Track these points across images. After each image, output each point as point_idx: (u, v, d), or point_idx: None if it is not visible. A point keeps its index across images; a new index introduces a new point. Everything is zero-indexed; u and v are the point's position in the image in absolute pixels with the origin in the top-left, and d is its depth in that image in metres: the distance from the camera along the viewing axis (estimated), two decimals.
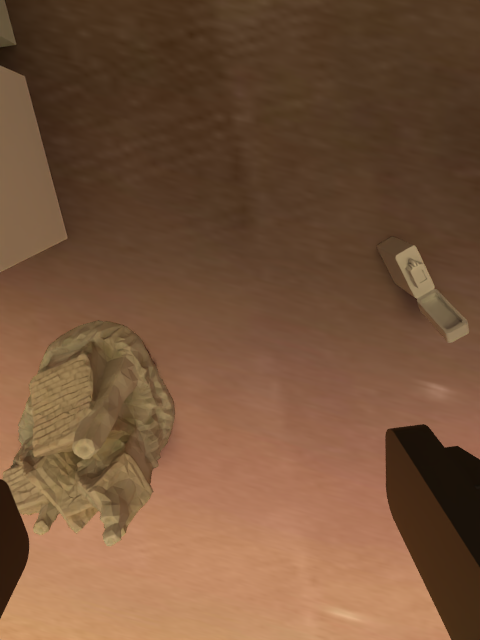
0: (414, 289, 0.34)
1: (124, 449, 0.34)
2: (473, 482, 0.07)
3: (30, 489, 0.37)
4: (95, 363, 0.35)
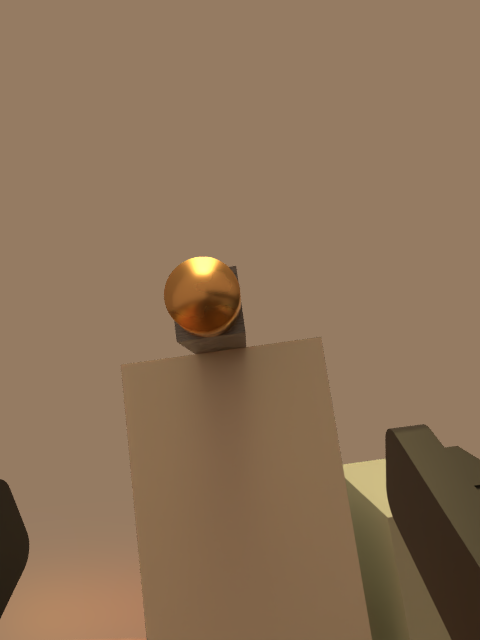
0: None
1: None
2: (473, 482, 0.07)
3: None
4: None
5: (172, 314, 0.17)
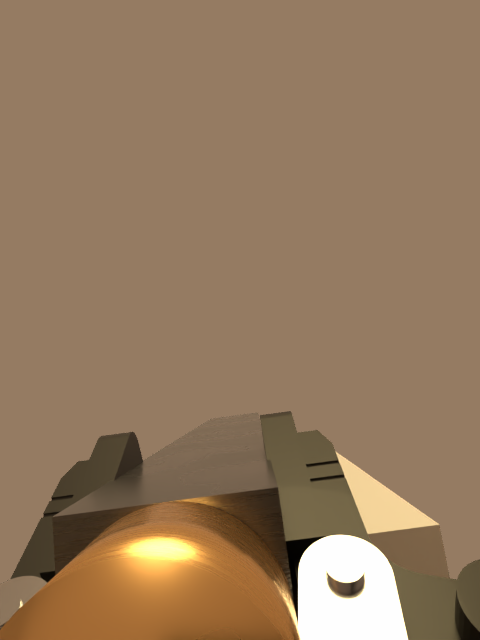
0: None
1: None
2: (316, 460, 0.08)
3: None
4: None
5: None
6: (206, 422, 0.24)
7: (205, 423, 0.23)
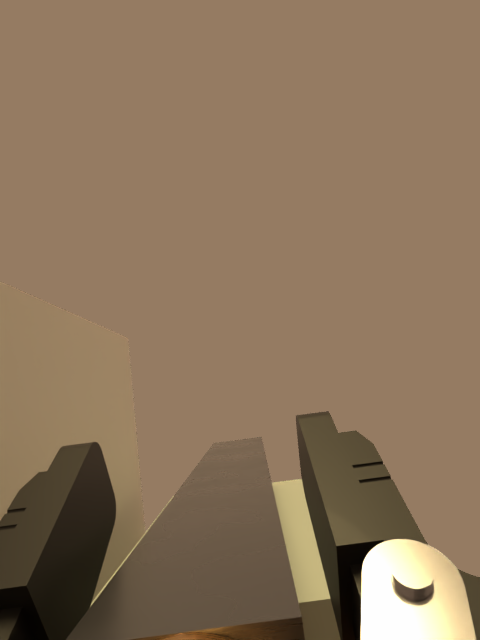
0: None
1: None
2: (359, 461, 0.08)
3: None
4: None
5: None
6: (209, 450, 0.24)
7: (208, 452, 0.23)
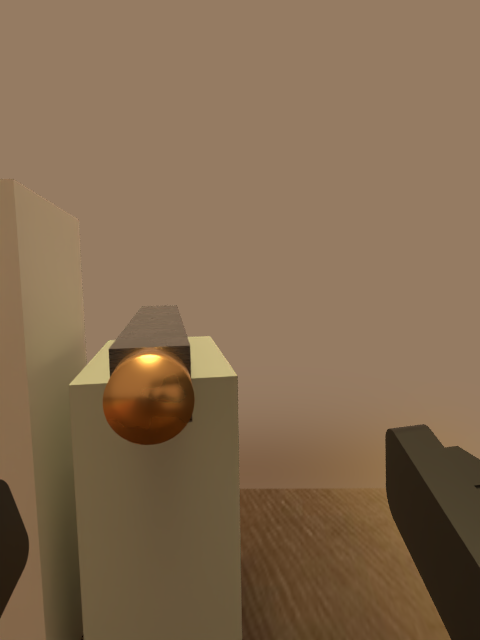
0: None
1: None
2: (473, 482, 0.07)
3: None
4: None
5: (111, 424, 0.14)
6: (140, 309, 0.34)
7: (140, 310, 0.33)
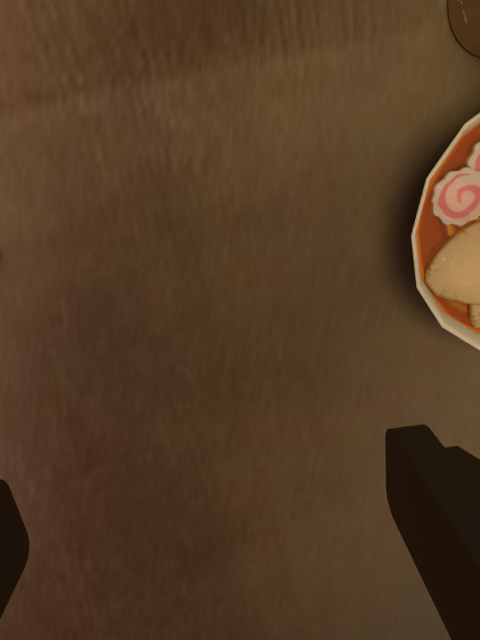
0: None
1: None
2: (473, 482, 0.07)
3: None
4: None
5: None
6: None
7: None
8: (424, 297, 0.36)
